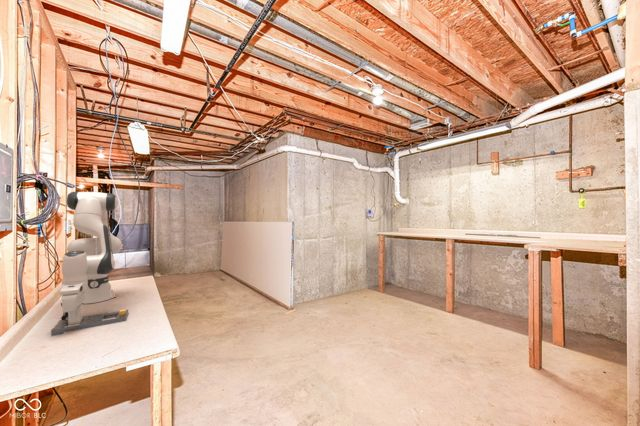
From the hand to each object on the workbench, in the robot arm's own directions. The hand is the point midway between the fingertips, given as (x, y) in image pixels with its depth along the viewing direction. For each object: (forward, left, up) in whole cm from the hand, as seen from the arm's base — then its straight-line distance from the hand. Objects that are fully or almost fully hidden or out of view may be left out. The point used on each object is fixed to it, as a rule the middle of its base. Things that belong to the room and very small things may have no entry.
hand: (75, 315), depth 121 cm
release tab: (0, +18, -5) cm, 18 cm away
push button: (-15, -7, -6) cm, 17 cm away
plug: (0, 0, -4) cm, 4 cm away
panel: (0, +6, -6) cm, 9 cm away
